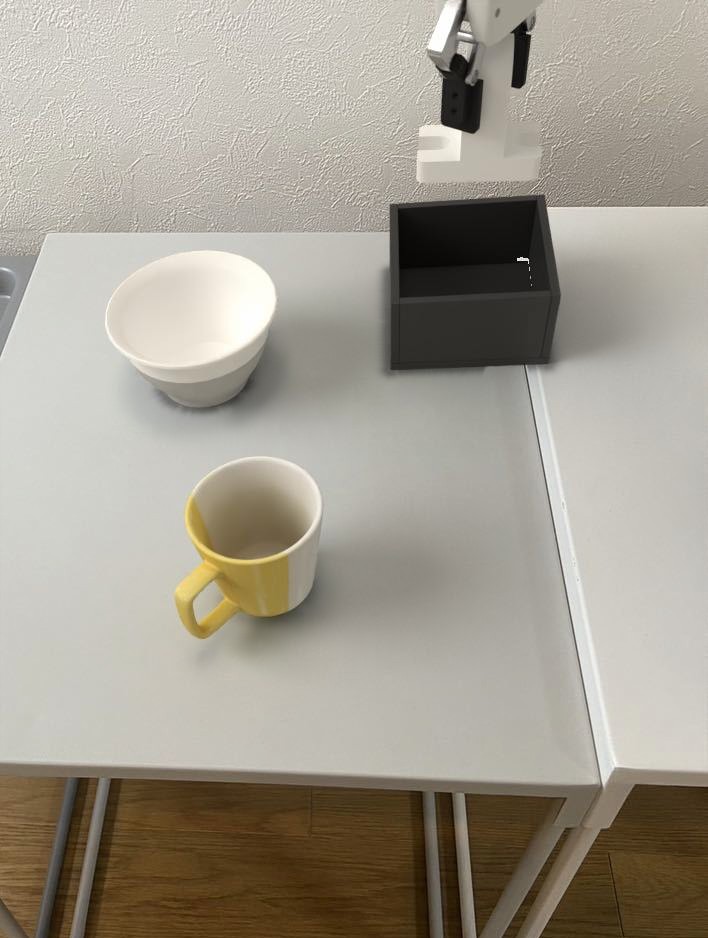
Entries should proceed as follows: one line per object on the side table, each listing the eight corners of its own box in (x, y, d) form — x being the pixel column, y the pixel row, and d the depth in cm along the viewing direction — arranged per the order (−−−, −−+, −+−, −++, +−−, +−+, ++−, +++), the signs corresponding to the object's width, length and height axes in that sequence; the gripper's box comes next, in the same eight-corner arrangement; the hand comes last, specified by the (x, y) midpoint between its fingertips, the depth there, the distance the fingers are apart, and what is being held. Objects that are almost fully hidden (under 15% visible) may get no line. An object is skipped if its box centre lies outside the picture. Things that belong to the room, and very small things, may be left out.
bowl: (231, 299, 97) (219, 227, 90) (318, 383, 89) (312, 311, 82) (98, 368, 94) (74, 299, 87) (176, 461, 86) (157, 394, 78)
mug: (279, 516, 81) (266, 433, 72) (356, 590, 76) (352, 509, 67) (150, 604, 77) (119, 528, 68) (221, 687, 72) (198, 616, 63)
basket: (534, 263, 95) (544, 193, 88) (548, 363, 87) (561, 295, 80) (389, 271, 97) (389, 203, 90) (390, 370, 89) (390, 304, 82)
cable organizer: (538, 180, 76) (557, 54, 68) (416, 183, 78) (419, 60, 69) (537, 143, 79) (555, 17, 70) (419, 146, 80) (422, 24, 72)
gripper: (488, -108, 54) (467, 176, 69) (625, -218, 61) (579, 63, 76) (381, -126, 58) (382, 149, 72) (522, -228, 64) (497, 43, 79)
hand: (483, 103), depth 74 cm, fingers closed on cable organizer, 6 cm apart
